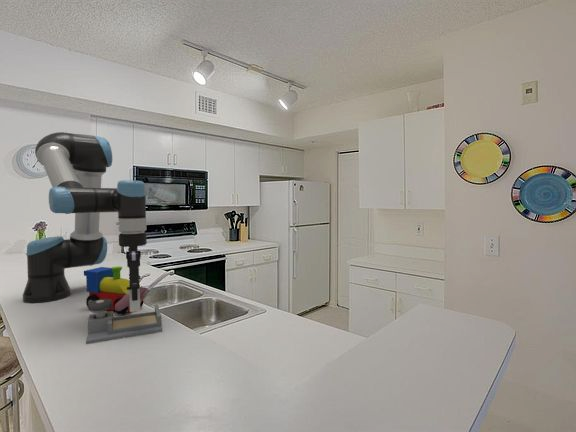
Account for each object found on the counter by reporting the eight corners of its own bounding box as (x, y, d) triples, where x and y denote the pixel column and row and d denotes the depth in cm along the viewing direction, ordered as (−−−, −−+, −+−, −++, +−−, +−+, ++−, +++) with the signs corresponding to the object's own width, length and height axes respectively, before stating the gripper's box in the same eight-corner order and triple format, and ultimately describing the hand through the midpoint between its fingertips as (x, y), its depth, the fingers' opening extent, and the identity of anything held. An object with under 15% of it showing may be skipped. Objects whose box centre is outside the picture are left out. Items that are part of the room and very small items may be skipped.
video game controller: (124, 317, 94) (134, 296, 94) (111, 309, 95) (121, 288, 94) (145, 306, 104) (154, 287, 103) (133, 299, 105) (142, 280, 104)
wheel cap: (89, 319, 97) (89, 299, 97) (112, 316, 100) (112, 297, 100) (87, 326, 92) (87, 305, 92) (112, 322, 94) (111, 302, 94)
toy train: (102, 302, 123) (101, 262, 123) (145, 308, 117) (144, 266, 116) (80, 310, 115) (78, 267, 114) (124, 316, 108) (123, 271, 107)
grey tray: (91, 323, 102) (91, 309, 102) (157, 314, 110) (157, 300, 110) (86, 343, 88) (85, 327, 87) (162, 331, 96) (161, 316, 96)
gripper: (119, 230, 107) (121, 297, 108) (117, 236, 87) (120, 319, 88) (144, 229, 110) (146, 294, 111) (148, 235, 90) (150, 315, 91)
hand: (134, 305), depth 100 cm, fingers closed on video game controller, 10 cm apart
